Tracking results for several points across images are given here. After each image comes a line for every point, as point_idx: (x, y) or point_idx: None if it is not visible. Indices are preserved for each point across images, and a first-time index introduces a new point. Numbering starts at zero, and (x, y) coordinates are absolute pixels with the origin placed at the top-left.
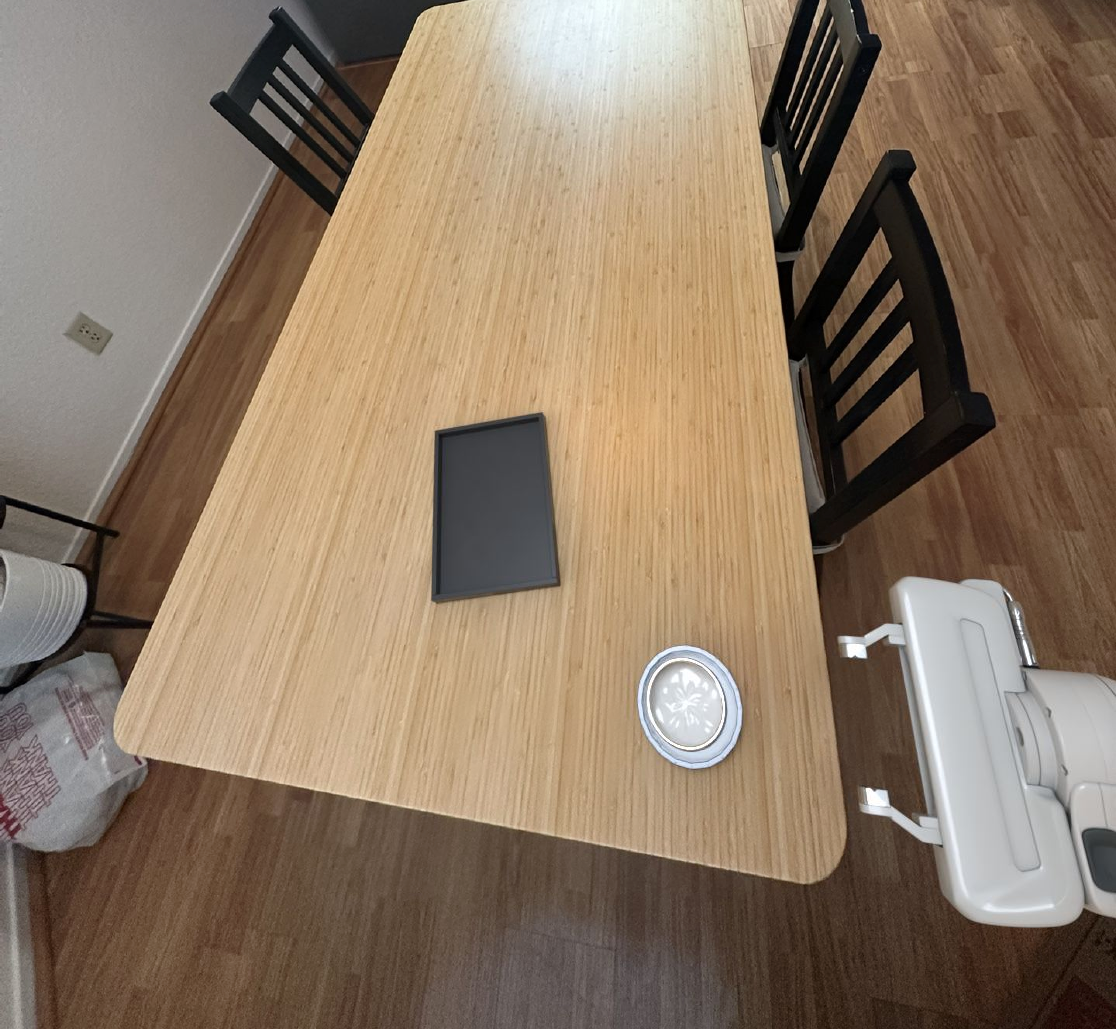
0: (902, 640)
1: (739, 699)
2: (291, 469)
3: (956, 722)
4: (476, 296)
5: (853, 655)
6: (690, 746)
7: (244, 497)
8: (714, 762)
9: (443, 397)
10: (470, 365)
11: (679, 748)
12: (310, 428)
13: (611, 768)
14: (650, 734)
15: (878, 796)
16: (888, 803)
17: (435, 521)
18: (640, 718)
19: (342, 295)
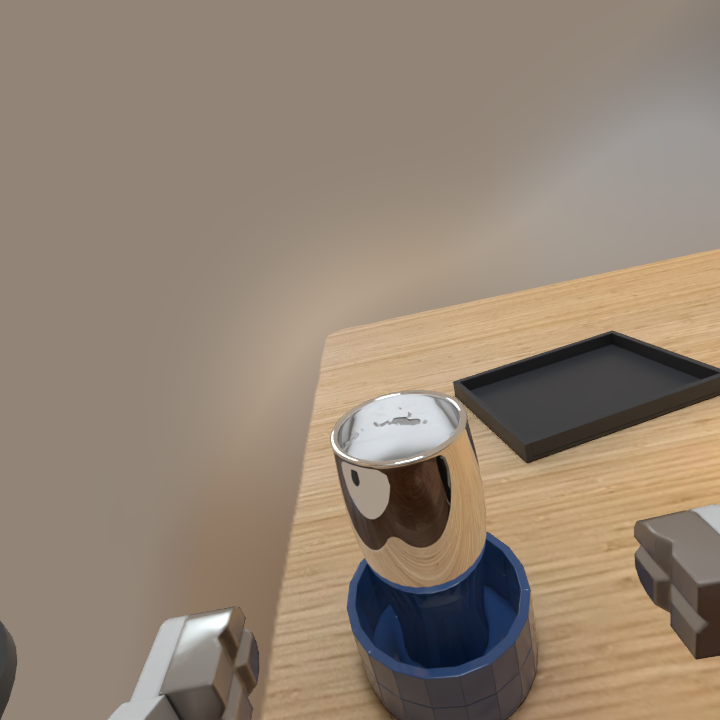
0: None
1: (472, 668)
2: (510, 309)
3: None
4: None
5: (667, 538)
6: (336, 439)
7: (476, 306)
8: (361, 638)
9: (656, 333)
10: (717, 331)
11: (332, 431)
12: (549, 302)
13: (346, 560)
14: None
15: (200, 652)
16: (172, 689)
17: (524, 360)
18: None
19: (683, 267)
